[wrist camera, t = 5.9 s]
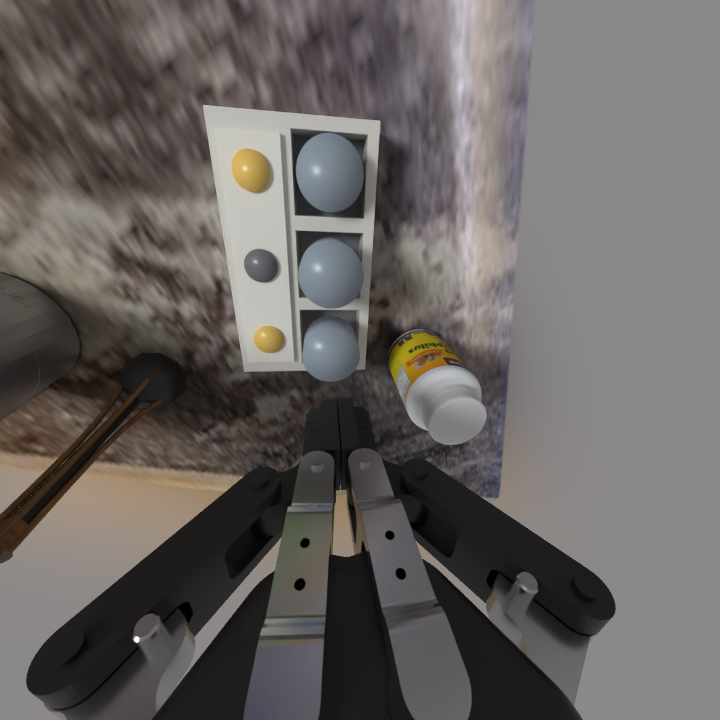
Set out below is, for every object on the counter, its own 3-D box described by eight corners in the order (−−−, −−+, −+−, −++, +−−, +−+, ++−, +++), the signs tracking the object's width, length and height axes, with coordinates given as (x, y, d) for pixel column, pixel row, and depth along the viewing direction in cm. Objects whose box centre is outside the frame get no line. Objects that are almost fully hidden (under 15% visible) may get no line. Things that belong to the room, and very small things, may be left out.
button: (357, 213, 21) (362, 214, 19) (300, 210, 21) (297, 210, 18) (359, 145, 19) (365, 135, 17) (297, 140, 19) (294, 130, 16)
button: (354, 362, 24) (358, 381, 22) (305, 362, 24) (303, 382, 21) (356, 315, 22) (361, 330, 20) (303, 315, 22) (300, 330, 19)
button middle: (357, 296, 22) (362, 308, 19) (302, 295, 21) (299, 308, 19) (359, 238, 20) (365, 243, 17) (299, 236, 19) (296, 240, 17)
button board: (361, 356, 28) (365, 369, 25) (250, 357, 26) (244, 371, 24) (373, 130, 20) (380, 120, 18) (217, 117, 18) (202, 105, 16)
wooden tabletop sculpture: (107, 349, 24) (-442, 717, 7) (161, 335, 24) (-251, 667, 7) (147, 404, 27) (-170, 767, 10) (196, 392, 27) (-33, 732, 10)
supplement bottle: (449, 328, 27) (512, 388, 18) (435, 379, 30) (484, 455, 21) (391, 324, 26) (427, 385, 17) (381, 377, 29) (409, 454, 20)
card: (294, 360, 24) (294, 362, 24) (249, 360, 24) (247, 363, 23) (280, 133, 17) (279, 131, 17) (215, 128, 17) (212, 126, 16)
